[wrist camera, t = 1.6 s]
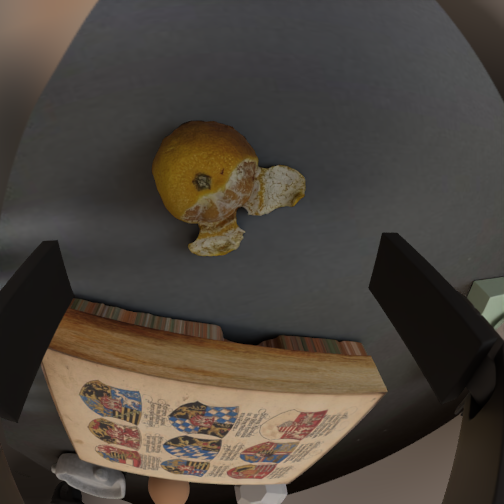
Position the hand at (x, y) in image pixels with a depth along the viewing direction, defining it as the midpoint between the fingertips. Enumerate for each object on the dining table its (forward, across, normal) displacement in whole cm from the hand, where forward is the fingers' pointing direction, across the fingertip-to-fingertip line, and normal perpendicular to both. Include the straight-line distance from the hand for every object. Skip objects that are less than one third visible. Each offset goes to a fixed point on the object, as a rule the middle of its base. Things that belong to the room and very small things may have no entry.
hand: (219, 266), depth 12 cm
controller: (+9, -40, -67) cm, 78 cm away
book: (+8, -4, -22) cm, 24 cm away
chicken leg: (+8, +6, -50) cm, 51 cm away
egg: (+9, -10, -43) cm, 45 cm away
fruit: (+8, 0, 0) cm, 8 cm away
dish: (+9, -26, -48) cm, 55 cm away
